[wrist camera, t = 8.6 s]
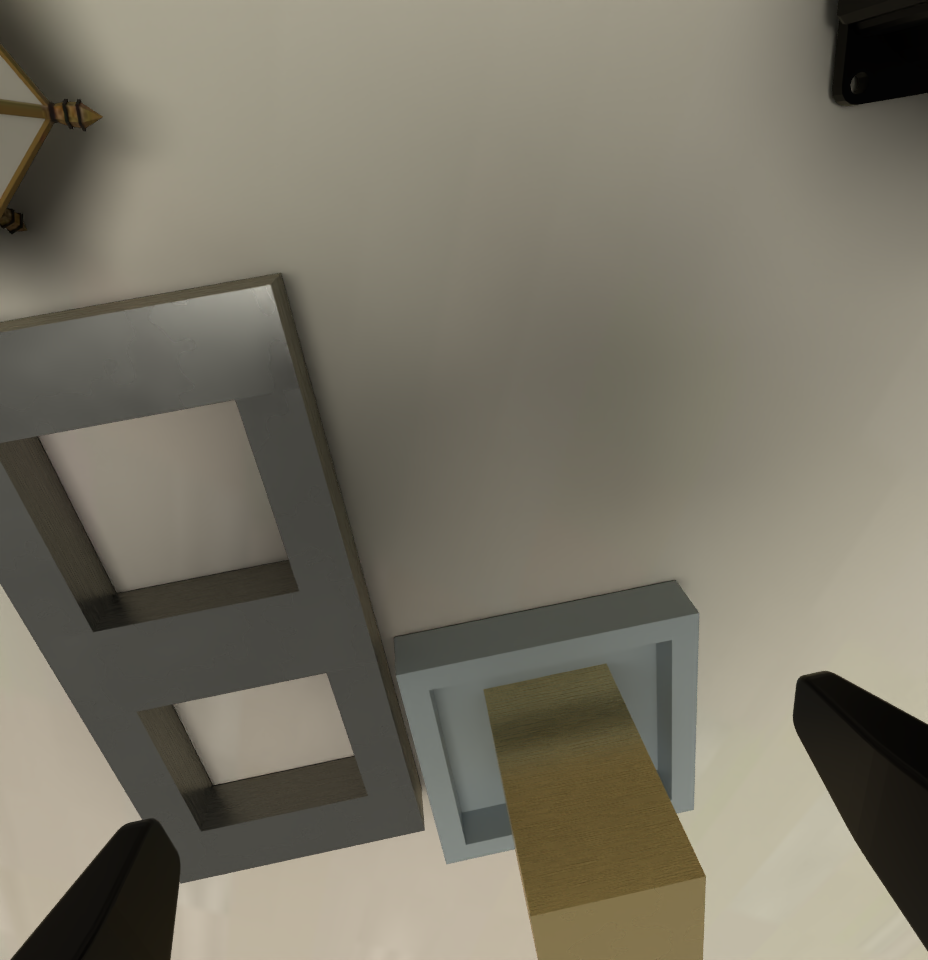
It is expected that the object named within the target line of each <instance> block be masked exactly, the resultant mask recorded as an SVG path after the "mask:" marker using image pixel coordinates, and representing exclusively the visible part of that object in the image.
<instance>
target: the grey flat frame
mask: <svg viewBox="0 0 928 960" xmlns="http://www.w3.org/2000/svg"><path fill="white" fill-rule="evenodd" d="M231 400H236V403H237V406H238V409H239V412H240V415H241V418H242V421H243V424H244V427H245V430H246V433H247V436H248V439H249V442H250V445H251V448H252V451H253V454H254V457H255V460H256V463H257V466H258V469H259V472H260V475H261V478H262V481H263V484H264V487H265V490H266V493H267V496H268V499H269V502H270V505H271V508H272V511H273V514H274V517H275V520H276V523H277V526H278V529H279V532H280V535H281V538H282V541H283V544H284V547H285V550H286V553H287V556H288V559H289V560H286V561H281V562H276V563H271V564H266V565H261V566H256V567H251V568H246V569H240V570H235V571H230V572H225V573H220V574H215V575H210V576H205V577H200V578H195V579H189V580H184V581H179V582H174V583H169V584H164V585H159V586H154V587H149V588H144V589H139V590H133V591H128V592H123V593H118V594H116V592H115V590H114V588H113V586H112V584H111V582H110V580H109V578H108V577H107V575H106V573H105V571H104V569H103V567H102V565H101V563H100V561H99V559H98V557H97V555H96V553H95V551H94V549H93V547H92V545H91V543H90V541H89V539H88V537H87V535H86V533H85V531H84V529H83V527H82V525H81V523H80V521H79V519H78V517H77V515H76V513H75V511H74V509H73V507H72V505H71V503H70V501H69V499H68V497H67V495H66V493H65V491H64V489H63V487H62V485H61V483H60V481H59V479H58V477H57V475H56V473H55V471H54V469H53V467H52V465H51V463H50V461H49V459H48V457H47V455H46V453H45V451H44V449H43V447H42V445H41V443H40V441H39V439H38V437H37V436H41V435H47V434H52V433H57V432H63V431H68V430H74V429H79V428H85V427H90V426H95V425H101V424H106V423H112V422H117V421H123V420H128V419H134V418H139V417H144V416H150V415H155V414H161V413H166V412H172V411H177V410H182V409H188V408H193V407H199V406H204V405H210V404H215V403H220V402H226V401H231ZM0 584H1V586H2V587H3V589H4V590H5V592H6V594H7V595H8V597H9V599H10V600H11V602H12V604H13V605H14V607H15V609H16V610H17V612H18V614H19V615H20V617H21V619H22V620H23V622H24V624H25V625H26V627H27V629H28V630H29V632H30V634H31V635H32V637H33V639H34V640H35V642H36V644H37V645H38V647H39V649H40V650H41V652H42V654H43V655H44V657H45V659H46V660H47V662H48V664H49V665H50V667H51V669H52V670H53V672H54V674H55V675H56V677H57V679H58V680H59V682H60V684H61V685H62V687H63V689H64V690H65V692H66V694H67V695H68V697H69V698H70V700H71V702H72V703H73V705H74V707H75V708H76V710H77V712H78V713H79V715H80V717H81V718H82V720H83V722H84V723H85V725H86V727H87V728H88V730H89V732H90V733H91V735H92V737H93V738H94V740H95V742H96V743H97V745H98V747H99V748H100V750H101V752H102V753H103V755H104V757H105V758H106V760H107V762H108V763H109V765H110V767H111V768H112V770H113V772H114V773H115V775H116V777H117V778H118V780H119V782H120V783H121V785H122V787H123V788H124V790H125V792H126V793H127V795H128V797H129V798H130V800H131V802H132V803H133V805H134V807H135V808H136V810H137V811H138V813H139V815H140V816H141V818H142V820H144V819H149V818H154V819H156V820H158V821H159V822H160V823H161V825H162V826H163V828H164V830H165V831H166V833H167V835H168V836H169V838H170V840H171V841H172V843H173V845H174V846H175V848H176V849H177V851H178V854H179V857H180V862H181V873H180V883H185V882H190V881H195V880H199V879H204V878H208V877H213V876H218V875H222V874H227V873H231V872H236V871H241V870H245V869H250V868H254V867H259V866H264V865H268V864H273V863H277V862H282V861H286V860H291V859H296V858H300V857H305V856H309V855H314V854H319V853H323V852H328V851H332V850H337V849H342V848H346V847H351V846H355V845H360V844H365V843H369V842H374V841H378V840H383V839H387V838H392V837H397V836H401V835H406V834H410V833H415V832H420V831H424V830H425V828H424V815H423V801H422V788H421V784H420V781H419V777H418V773H417V770H416V766H415V762H414V759H413V755H412V751H411V748H410V744H409V740H408V737H407V733H406V729H405V726H404V722H403V718H402V715H401V711H400V707H399V704H398V700H397V696H396V693H395V689H394V685H393V682H392V678H391V674H390V671H389V667H388V664H387V660H386V656H385V653H384V649H383V645H382V642H381V638H380V634H379V631H378V627H377V623H376V620H375V616H374V612H373V609H372V605H371V601H370V598H369V594H368V590H367V587H366V583H365V579H364V576H363V572H362V568H361V565H360V561H359V557H358V554H357V550H356V546H355V543H354V539H353V535H352V532H351V528H350V524H349V521H348V517H347V513H346V510H345V506H344V502H343V499H342V495H341V492H340V488H339V484H338V481H337V477H336V473H335V470H334V466H333V462H332V459H331V455H330V451H329V448H328V444H327V440H326V437H325V433H324V429H323V426H322V422H321V418H320V415H319V411H318V407H317V404H316V400H315V396H314V393H313V389H312V385H311V382H310V378H309V374H308V371H307V367H306V363H305V360H304V356H303V352H302V349H301V345H300V341H299V338H298V334H297V330H296V327H295V323H294V319H293V316H292V312H291V309H290V305H289V301H288V298H287V294H286V290H285V287H284V283H283V279H282V276H281V273H277V274H272V275H266V276H260V277H254V278H249V279H243V280H237V281H232V282H226V283H220V284H215V285H209V286H203V287H198V288H192V289H186V290H180V291H175V292H169V293H163V294H158V295H152V296H146V297H141V298H135V299H129V300H124V301H118V302H112V303H106V304H101V305H95V306H89V307H84V308H78V309H72V310H67V311H61V312H55V313H49V314H44V315H38V316H32V317H27V318H21V319H15V320H10V321H4V322H0ZM323 673H327V675H328V678H329V681H330V684H331V687H332V690H333V693H334V696H335V699H336V702H337V705H338V708H339V711H340V714H341V717H342V720H343V723H344V726H345V729H346V732H347V735H348V738H349V741H350V744H351V747H352V750H353V753H354V757H350V758H345V759H340V760H336V761H331V762H326V763H321V764H317V765H312V766H307V767H302V768H298V769H293V770H288V771H284V772H279V773H274V774H269V775H265V776H260V777H255V778H250V779H246V780H241V781H236V782H231V783H227V784H222V785H217V786H212V784H211V782H210V780H209V778H208V776H207V774H206V772H205V770H204V768H203V766H202V764H201V762H200V760H199V758H198V756H197V754H196V752H195V750H194V748H193V746H192V744H191V742H190V740H189V738H188V736H187V734H186V732H185V730H184V728H183V726H182V724H181V722H180V720H179V718H178V716H177V714H176V712H175V710H174V708H173V706H172V704H177V703H182V702H186V701H191V700H196V699H201V698H206V697H211V696H216V695H221V694H226V693H230V692H235V691H240V690H245V689H250V688H255V687H260V686H265V685H269V684H274V683H279V682H284V681H289V680H294V679H299V678H304V677H308V676H313V675H318V674H323Z"/></svg>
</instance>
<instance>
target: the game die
mask: <svg viewBox="0 0 928 960" xmlns="http://www.w3.org/2000/svg"><path fill="white" fill-rule="evenodd" d="M102 117H103V116H101V115H100V114H98V113H96V112H95V111H93V110H92V109H90V108H89V107H87V106H86V105H84V104H83V103H81V99H77V102H68V99H64V101H63V102H61V103H56V104H54V103H51V102H49V101H48V99H47V98H46V97H45V96H44V95H43V93H42V92H41V91H40V90H39V89H38V88H37V86H36V85H35V84H34V83H33V82H32V80H31V79H30V78H29V77H28V76H27V74H26V73H25V72H24V71H23V70H22V69H21V67H20V66H19V65H18V64H17V63H16V61H15V60H14V59H13V58H12V57H11V56H10V54H9V53H8V52H7V51H6V50H5V48H4V47H3V46H2V45H1V44H0V226H1V227H2V228H3V229H4V228H6V229H7V230H8V231H9V232H10V233H11V234H13V233H14V232H17V231H27V229H26V226H25V224H24V221H23V214H21V213H15V212H14V209H9V208H7V206H8V204H9V202H10V201H11V199H12V197H13V195H14V193H15V192H16V190H17V188H18V186H19V185H20V183H21V181H22V179H23V177H24V176H25V174H26V172H27V170H28V169H29V167H30V165H31V163H32V161H33V160H34V158H35V156H36V154H37V152H38V151H39V149H40V147H41V145H42V144H43V142H44V140H45V138H46V136H47V135H48V133H49V131H50V129H51V128H52V126H53V124H54V123H61V124H64V125H67V126H68V127H69V128H70V129H73V127H78V128H82V130H83V131H86V128H87V127H88V126H90V125H91V124H93V123H94V122H96V121H98V120H99V119H101V118H102Z"/></svg>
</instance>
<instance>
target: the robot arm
mask: <svg viewBox="0 0 928 960" xmlns="http://www.w3.org/2000/svg"><path fill="white" fill-rule="evenodd" d="M837 15H838V17H839V26H838V36H837V45H836V55H835V65H834V75H833V85H832V93H833V98H834V100H835V102H836V103H838V104H839V105H841V106H852V105H859V104H865V103H871V102H877V101H883V100H889V99H894V98H900V97H906V96H912V95H918V94H924V93H928V0H838V10H837ZM855 75H856V76H857V77H858V81H859V84H858V88H857V90H856V91H855V92H854V93H853V92H852V91H851V86H850V85H851V82H852V79H853V78H854V76H855ZM793 722H794V726H795V729H796V732H797V734H798V736H799V738H800V740H801V742H802V744H803V745H804V747H805V749H806V751H807V753H808V755H809V757H810V759H811V760H812V762H813V764H814V766H815V768H816V770H817V772H818V773H819V775H820V777H821V779H822V781H823V783H824V785H825V787H826V788H827V790H828V792H829V794H830V796H831V798H832V800H833V802H834V803H835V805H836V807H837V809H838V811H839V813H840V815H841V816H842V818H843V820H844V822H845V824H846V826H847V827H848V829H849V831H850V833H851V835H852V836H853V838H854V840H855V842H856V843H857V845H858V846H859V848H860V849H861V851H862V853H863V854H864V856H865V857H866V859H867V860H868V862H869V864H870V865H871V867H872V868H873V870H874V871H875V873H876V874H877V876H878V877H879V879H880V880H881V882H882V883H883V885H884V886H885V888H886V889H887V891H888V892H889V894H890V895H891V897H892V898H893V900H894V901H895V903H896V904H897V906H898V907H899V909H900V910H901V912H902V913H903V915H904V916H905V918H906V919H907V921H908V922H909V924H910V925H911V927H912V928H913V930H914V931H915V933H916V934H917V936H918V937H919V939H920V940H921V942H922V943H923V945H924V946H925V948H926V949H927V951H928V724H926V723H925V722H923V721H921V720H919V719H917V718H915V717H914V716H912V715H910V714H908V713H906V712H904V711H903V710H901V709H899V708H897V707H895V706H893V705H892V704H890V703H888V702H886V701H884V700H882V699H881V698H879V697H877V696H875V695H873V694H871V693H870V692H868V691H866V690H864V689H862V688H860V687H859V686H857V685H855V684H853V683H851V682H849V681H848V680H846V679H844V678H842V677H840V676H838V675H837V674H834V673H832V672H829V671H821V672H816V673H811V674H807V675H803V676H801V677H800V678H799V679H798V680H797V684H796V692H795V701H794V710H793ZM180 873H181V862H180V857H179V854H178V851H177V849H176V848H175V846H174V845H173V843H172V841H171V840H170V838H169V836H168V835H167V833H166V831H165V830H164V828H163V826H162V825H161V823H160V822H159V821H158V820H156V819H154V818H149V819H144V820H140V821H135V822H130V823H127V824H125V825H124V826H122V827H121V828H120V829H119V830H118V831H117V832H116V833H115V834H114V835H113V837H112V838H111V839H110V840H109V841H108V843H107V844H106V845H105V846H104V848H103V849H102V850H101V851H100V852H99V854H98V855H97V856H96V857H95V858H94V860H93V861H92V862H91V863H90V864H89V866H88V867H87V868H86V869H85V870H84V872H83V873H82V874H81V875H80V876H79V878H78V879H77V880H76V881H75V882H74V884H73V885H72V886H71V887H70V888H69V890H68V891H67V892H66V893H65V895H64V896H63V897H62V898H61V899H60V901H59V902H58V903H57V904H56V905H55V907H54V908H53V909H52V910H51V911H50V913H49V914H48V915H47V916H46V917H45V919H44V920H43V921H42V922H41V923H40V925H39V926H38V927H37V928H36V929H35V931H34V932H33V933H32V934H31V936H30V937H29V938H28V939H27V940H26V942H25V943H24V944H23V945H22V946H21V948H20V949H19V950H18V951H17V952H16V954H15V955H14V956H13V957H12V958H11V960H170V959H171V950H172V942H173V933H174V925H175V916H176V907H177V899H178V890H179V882H180Z"/></svg>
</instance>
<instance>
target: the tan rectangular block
mask: <svg viewBox="0 0 928 960" xmlns="http://www.w3.org/2000/svg"><path fill="white" fill-rule="evenodd" d="M483 690H484V695H485V701H486V706H487V711H488V716H489V721H490V727H491V732H492V737H493V742H494V748H495V753H496V758H497V763H498V768H499V774H500V778H501V783H502V788H503V793H504V798H505V803H506V808H507V812H508V817H509V822H510V827H511V832H512V837H513V842H514V846H515V851H516V856H517V861H518V866H519V871H520V876H521V880H522V885H523V890H524V895H525V900H526V905H527V909H528V914H529V919H530V924H531V929H532V934H533V939H534V943H535V948H536V953H537V958H538V960H703V940H704V912H705V885H706V876H705V874H704V872H703V869H702V867H701V865H700V863H699V861H698V859H697V857H696V854H695V852H694V850H693V848H692V846H691V844H690V842H689V839H688V837H687V835H686V833H685V831H684V829H683V827H682V824H681V822H680V820H679V818H678V816H677V814H676V812H675V809H674V807H673V805H672V803H671V801H670V799H669V796H668V794H667V792H666V790H665V788H664V786H663V784H662V781H661V779H660V777H659V775H658V773H657V771H656V769H655V766H654V764H653V762H652V760H651V758H650V756H649V754H648V751H647V749H646V747H645V745H644V743H643V741H642V739H641V736H640V734H639V732H638V730H637V728H636V726H635V724H634V721H633V719H632V717H631V715H630V713H629V711H628V709H627V706H626V704H625V702H624V700H623V698H622V696H621V694H620V691H619V689H618V687H617V685H616V683H615V681H614V679H613V676H612V674H611V672H610V670H609V668H608V666H607V664H606V663H605V664H601V665H596V666H591V667H587V668H582V669H577V670H573V671H568V672H563V673H558V674H554V675H549V676H544V677H540V678H535V679H530V680H525V681H521V682H516V683H511V684H507V685H502V686H497V687H492V688H488V689H483Z"/></svg>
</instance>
